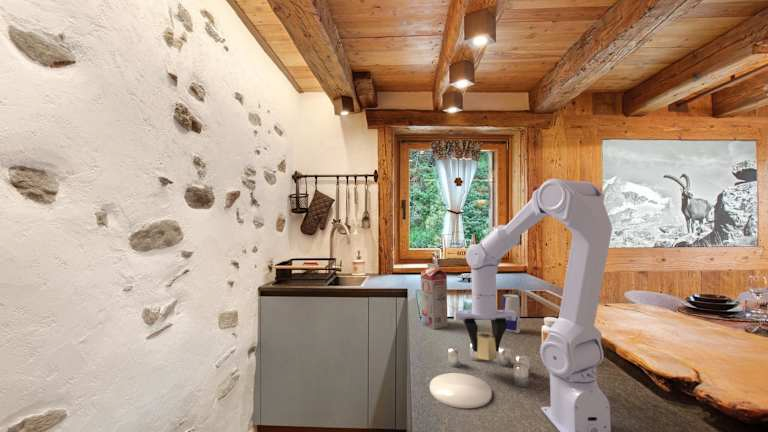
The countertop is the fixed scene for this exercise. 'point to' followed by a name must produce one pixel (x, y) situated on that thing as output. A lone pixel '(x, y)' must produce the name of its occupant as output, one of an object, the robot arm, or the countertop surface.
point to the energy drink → (512, 304)
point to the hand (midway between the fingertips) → (485, 349)
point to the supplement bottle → (547, 326)
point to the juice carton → (433, 297)
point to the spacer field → (504, 360)
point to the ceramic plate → (460, 390)
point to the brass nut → (486, 346)
